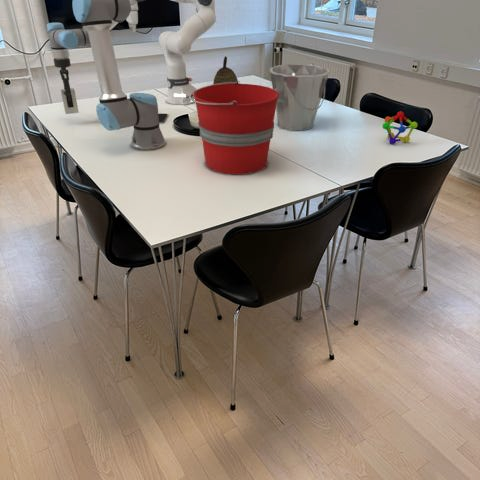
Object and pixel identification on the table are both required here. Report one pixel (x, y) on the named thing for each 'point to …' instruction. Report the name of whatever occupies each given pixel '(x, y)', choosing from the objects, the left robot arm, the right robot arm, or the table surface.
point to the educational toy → (398, 128)
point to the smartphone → (162, 117)
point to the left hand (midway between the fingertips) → (70, 105)
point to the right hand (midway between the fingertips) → (132, 30)
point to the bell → (225, 74)
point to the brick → (67, 110)
